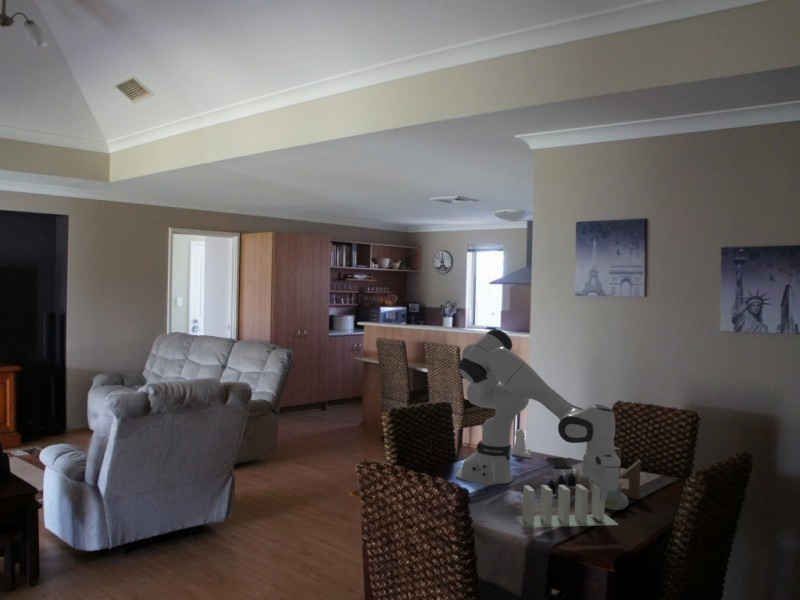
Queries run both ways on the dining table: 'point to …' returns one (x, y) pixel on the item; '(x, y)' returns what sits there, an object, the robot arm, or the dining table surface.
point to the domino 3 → (563, 504)
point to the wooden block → (630, 478)
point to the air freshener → (616, 499)
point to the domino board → (572, 521)
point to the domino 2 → (546, 504)
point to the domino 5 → (597, 502)
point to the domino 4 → (581, 503)
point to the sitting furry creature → (520, 445)
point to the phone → (559, 463)
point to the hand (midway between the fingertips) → (598, 496)
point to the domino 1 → (528, 504)
